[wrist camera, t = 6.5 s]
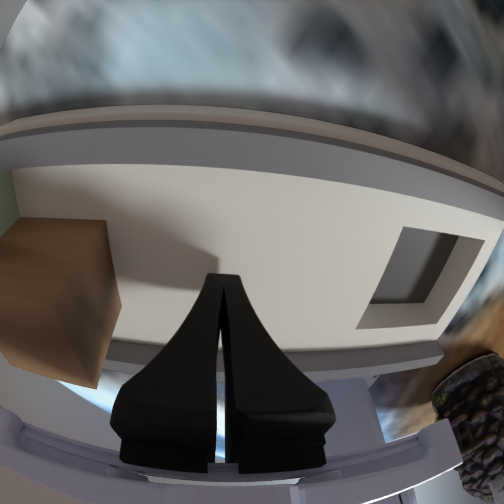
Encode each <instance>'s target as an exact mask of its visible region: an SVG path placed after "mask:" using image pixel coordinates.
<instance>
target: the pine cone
mask: <svg viewBox="0 0 504 504" xmlns="http://www.w3.org/2000/svg"><path fill="white" fill-rule="evenodd" d="M432 404H433V409H434V412H435V413H436V415H437V417H436V419H435V422H434V423H436V422H438V421H441V420H444V419H446V418H447V419H448V420H449V423H450V425H451V428H452V431H453V433H454V436H455V439H456V442H457V444H458V447H459V450H460V453H461V456H462V459H463V463H462V464H460V465H459V466H457V467H455V468H453V469H454V470H456V471H459V475H460V480H462V485H463V488H464V490H466V491H467V492H468V493H469V494H470V495H472V496H474V497H475V498H476V497H479V498H480V499H482V500H483V501H485V502H489V503H495V504H504V359H502V358H501V357H499V356H497V355H496V354H495V353H492V354H488V355H485V356H484V355H483V356H481V357H479V358H476V359H474V360H473V361H470V362H468V363H466V364H465V365H463V366H461V367H460V368H459V369H457V370H456V371H454V372H452V373H451V375H449V376H448V377H447V378H446V379H445V380H443V381H442V383H440V384H439V385H438V387H437V388H436V389H435V391H434V392H433V393H432Z"/></svg>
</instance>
